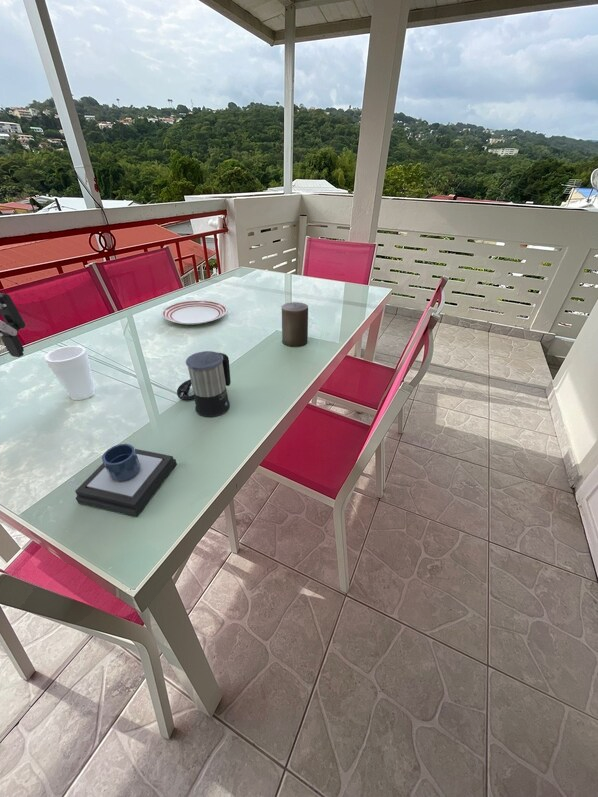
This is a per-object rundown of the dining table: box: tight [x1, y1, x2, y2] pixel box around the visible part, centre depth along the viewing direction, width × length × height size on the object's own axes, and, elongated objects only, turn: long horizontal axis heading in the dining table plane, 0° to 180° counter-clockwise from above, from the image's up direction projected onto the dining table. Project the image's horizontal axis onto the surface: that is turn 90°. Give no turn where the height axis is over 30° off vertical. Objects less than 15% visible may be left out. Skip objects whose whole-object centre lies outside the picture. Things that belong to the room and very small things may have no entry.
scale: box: [74, 448, 178, 518], centre depth 67 cm, size 14×13×3 cm
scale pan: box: [87, 454, 163, 499], centre depth 67 cm, size 10×10×1 cm
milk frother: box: [176, 350, 232, 418], centre depth 88 cm, size 14×16×15 cm
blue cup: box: [101, 443, 141, 481], centre depth 65 cm, size 6×6×5 cm
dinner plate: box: [161, 299, 228, 326], centre depth 144 cm, size 27×27×3 cm
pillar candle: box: [280, 301, 309, 348], centre depth 121 cm, size 10×10×15 cm
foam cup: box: [43, 345, 96, 401], centre depth 91 cm, size 10×9×13 cm
